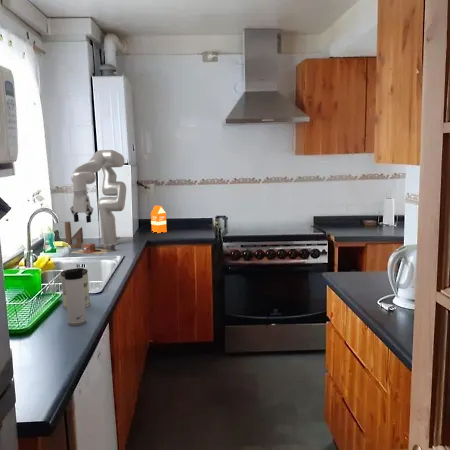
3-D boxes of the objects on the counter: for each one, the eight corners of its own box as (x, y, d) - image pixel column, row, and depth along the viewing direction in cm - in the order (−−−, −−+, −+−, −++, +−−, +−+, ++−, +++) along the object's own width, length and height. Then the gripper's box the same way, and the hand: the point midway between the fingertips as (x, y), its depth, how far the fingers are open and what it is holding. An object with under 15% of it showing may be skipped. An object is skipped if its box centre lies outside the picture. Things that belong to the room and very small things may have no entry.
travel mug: (82, 326, 181) (78, 270, 179) (65, 326, 183) (60, 270, 180) (90, 320, 187) (86, 266, 185) (73, 320, 189) (69, 266, 186)
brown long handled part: (82, 250, 330) (80, 222, 327) (65, 250, 330) (63, 222, 328) (84, 249, 333) (81, 221, 331) (67, 249, 334) (65, 221, 331)
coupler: (81, 253, 312) (81, 245, 312) (90, 250, 319) (90, 242, 319) (88, 253, 310) (87, 245, 309) (97, 251, 317) (96, 243, 316)
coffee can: (67, 302, 212) (64, 268, 210) (92, 301, 212) (90, 267, 210) (60, 310, 202) (57, 274, 200) (86, 309, 202) (84, 273, 200)
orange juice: (158, 233, 388) (157, 206, 385) (151, 232, 395) (150, 205, 392) (166, 231, 393) (165, 205, 391) (160, 230, 400) (158, 204, 397)
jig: (90, 249, 332) (89, 240, 332) (119, 250, 322) (118, 242, 321) (70, 254, 316) (69, 245, 316) (100, 256, 306) (99, 247, 305)
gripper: (96, 193, 308) (98, 221, 310) (74, 192, 316) (76, 220, 318) (87, 194, 301) (89, 223, 303) (65, 193, 309) (67, 222, 311)
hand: (82, 222), depth 311 cm, fingers open, 9 cm apart
